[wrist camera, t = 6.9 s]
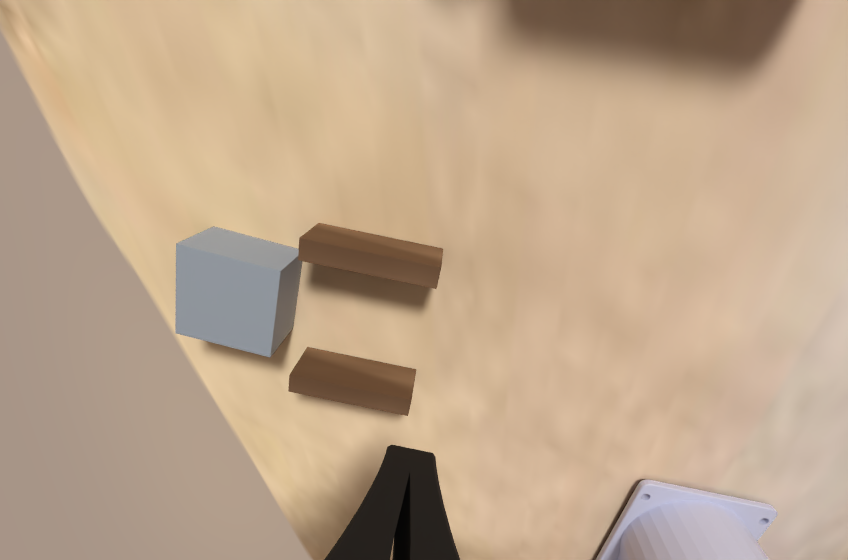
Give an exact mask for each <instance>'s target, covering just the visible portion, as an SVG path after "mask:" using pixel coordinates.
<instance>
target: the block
mask: <svg viewBox="0 0 848 560" xmlns="http://www.w3.org/2000/svg"><path fill="white" fill-rule="evenodd" d="M298 253H299V249H297V248H293V247H289V246H286V245H282V244H278V243H274V242H271V241H267V240H263V239H259V238H256V237H252V236H248V235H244V234H240V233H237V232H233V231H229V230H225V229H222V228H218V227H214V226H213V227H211V228H209V229H207V230H205V231H203V232H200V233H198V234H196V235H194V236H192V237H189V238H187V239H185V240H183V241H181V242H179V243H176V333H177V334H181V335H185V336H189V337H193V338H196V339H200V340H204V341H208V342H212V343H216V344H220V345H224V346H227V347H231V348H235V349H239V350H243V351H247V352H251V353H255V354H259V355H262V356H266V357H271V356H272V355H273V353H274V352H275V351H276V349H277V348H278V347H279V345H280V344H281V343H282V342H283V340H284V339H285V338H286V336H287V335H288V334H289V333H290V331H291V330H292V329H293V324H294V317H295V310H296V303H297V296H298V289H299V282H300V275H301V268H302V261H299V260H298Z"/></svg>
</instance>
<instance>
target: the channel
mask: <svg viewBox="0 0 848 560" xmlns="http://www.w3.org/2000/svg"><path fill="white" fill-rule="evenodd" d="M442 254H443V249H441V248H437V247H432V246H427V245H422V244H417V243H413V242H408V241H403V240H398V239H393V238H388V237H384V236H379V235H374V234H369V233H364V232H360V231H355V230H350V229H345V228H340V227H335V226H331V225H326V224H321V223H318V224H317V225H316V226H314V227H313V228H312V229H310V230H309V231H308V232H307V233H305V234H304V235H303V236H301V237H300V239H299V253H298V260H299V261H304V262H309V263H314V264H319V265H323V266H328V267H333V268H338V269H343V270H348V271H352V272H357V273H362V274H367V275H372V276H377V277H381V278H386V279H391V280H396V281H401V282H405V283H410V284H415V285H420V286H425V287H430V288H434V289H436V288H437V284H438V279H439V275H440V271H441V264H442ZM415 374H416V369H411V368H406V367H401V366H397V365H392V364H387V363H382V362H377V361H372V360H367V359H363V358H358V357H353V356H348V355H343V354H338V353H334V352H329V351H324V350H319V349H314V348H309V347H307V349H306V350H305V352H304V353H303V355H302V356H301V358H300V360H299V361H298V363H297V364H296V366H295V367H294V369H293V370H292V372H291V374H290V377H289V392H294V393H299V394H304V395H309V396H314V397H319V398H323V399H328V400H333V401H338V402H343V403H348V404H353V405H357V406H362V407H367V408H372V409H377V410H382V411H387V412H392V413H396V414H401V415H406V416H408V413H409V409H410V404H411V400H412V393H413V387H414V381H415Z"/></svg>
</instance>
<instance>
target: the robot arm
mask: <svg viewBox="0 0 848 560" xmlns="http://www.w3.org/2000/svg"><path fill="white" fill-rule="evenodd" d="M776 516H777V511H776V510H775V509H774V507H773V506H772V505H770V504H766V503H761V502H756V501H751V500H746V499H741V498H737V497H732V496H727V495H722V494H717V493H712V492H707V491H703V490H698V489H693V488H688V487H683V486H678V485H673V484H668V483H664V482H659V481H654V480H648V479H646V480H642V481H640V482H639V484H638V485H637V487H636V489H635V490H634V492H633V494H632V496H631V498H630V499H629V501H628V503H627V505H626V506H625V508H624V510H623V512H622V514H621V515H620V517H619V519H618V521H617V522H616V524H615V526H614V528H613V530H612V531H611V533H610V535H609V537H608V539H607V540H606V542H605V544H604V546H603V547H602V549H601V551H600V553H599V555H598V556H597V558H596V560H770V559H769V558H768V557H767V555H766V554H765V552H764V551H763V550H762V548H761V547H760V545H759V544H758V542H757V541H758V540H759V538H760V537H761V536H762V535H763V533H764V532H765V531H766V529H767V528H768V527H769V526H770V524H771V523H772V522H773V521H774V519H775V518H776ZM393 540H394V547H393V560H460V558H459V555H458V552H457V549H456V546H455V543H454V540H453V536H452V533H451V530H450V526H449V522H448V519H447V515H446V511H445V508H444V504H443V500H442V495H441V490H440V486H439V481H438V475H437V468H436V459H435V456H434V454H433V453H430V452H425V451H420V450H415V449H410V448H405V447H400V446H396V445H390V446H388V447H387V451H386V454H385V457H384V460H383V463H382V465H381V467H380V470H379V472H378V474H377V476H376V478H375V480H374V482H373V484H372V486H371V488H370V489H369V491H368V493H367V495H366V497H365V498H364V500H363V502H362V504H361V506H360V507H359V509H358V511H357V512H356V514H355V515H354V517H353V518H352V520H351V522H350V523H349V525H348V526H347V528H346V529H345V531H344V532H343V534H342V536H341V537H340V538H339V540H338V541H337V543H336V544H335V546H334V547H333V548H332V550H331V551H330V553H329V554H328V555H327V557H326V558H325V559H324V560H390V555H391V550H392V545H393Z"/></svg>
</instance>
